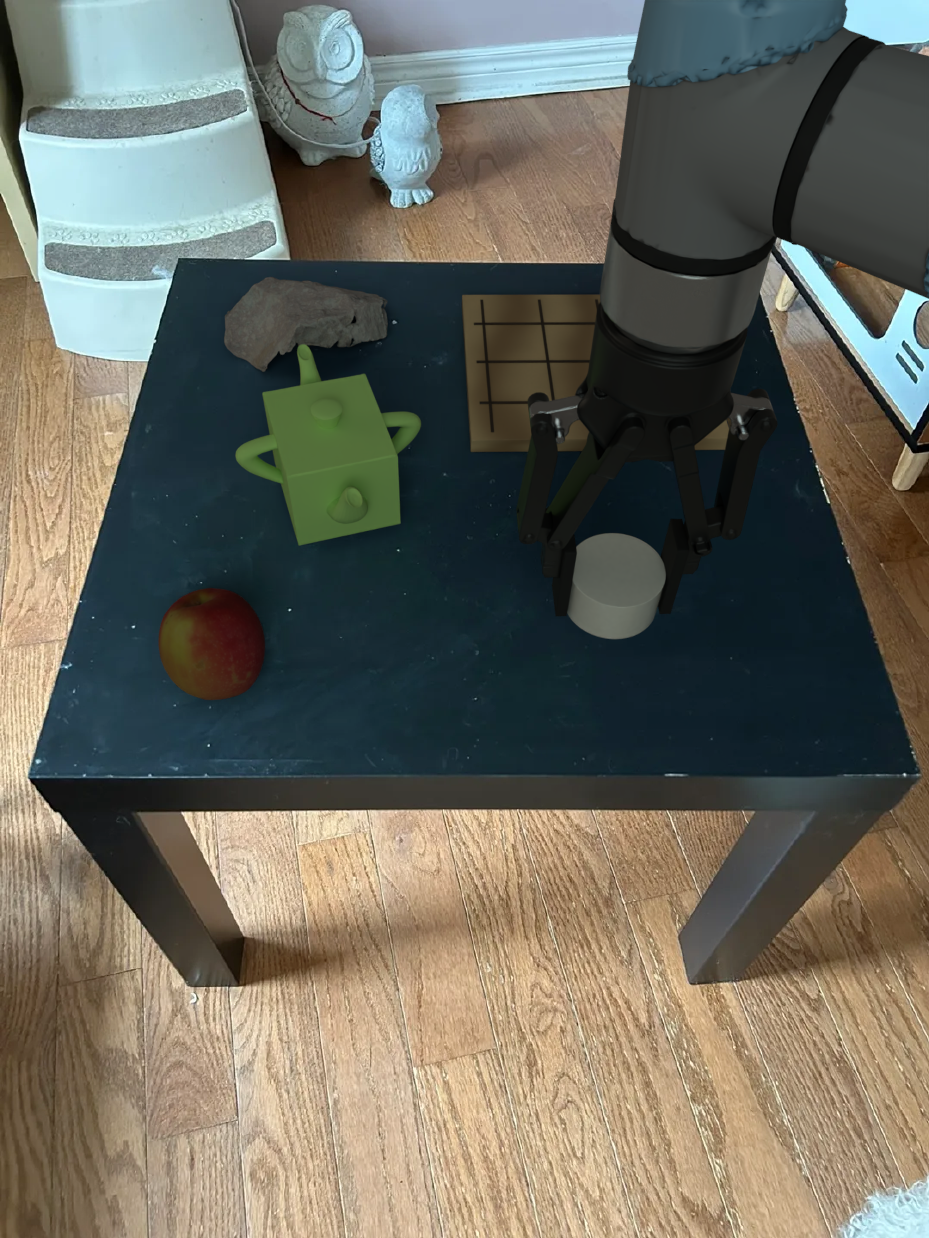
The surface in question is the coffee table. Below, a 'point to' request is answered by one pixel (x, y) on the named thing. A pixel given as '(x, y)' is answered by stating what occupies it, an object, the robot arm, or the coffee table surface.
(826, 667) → the coffee table surface
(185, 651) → the apple
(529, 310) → the board
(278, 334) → the stone
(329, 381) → the teapot
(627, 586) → the gray cylinder
